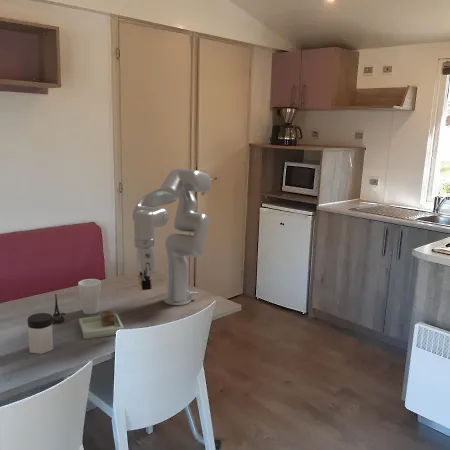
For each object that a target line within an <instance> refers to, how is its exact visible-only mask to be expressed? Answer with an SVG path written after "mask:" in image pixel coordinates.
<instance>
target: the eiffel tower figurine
mask: <svg viewBox="0 0 450 450" xmlns="http://www.w3.org/2000/svg"><path fill="white" fill-rule="evenodd" d="M57 296H58V295H57V293H55V295H54V297H55V303H54V304H55V306H54V309H53V310H54V313H53V314H52V325H62V324H65V318H64V316H66V315H67V312H60V309H59V306H58V297H57Z"/></svg>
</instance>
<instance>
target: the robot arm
mask: <svg viewBox="0 0 450 450" xmlns="http://www.w3.org/2000/svg"><path fill="white" fill-rule="evenodd" d="M211 186H212V179H211V177H210V175H209V174H208V173H205V172H203V171H201V170H197V169H191V168H190V169H189V168H174V169H172V170H170V172H169V173H168V175H167V176H166V178H165V179H164V181H163V182H162V184H161V186H160V187H159V188H157V189H155V190H153V191H151V192H149V193H147V194H145V195H143V196H142V197H141V198H140V199H139V201H138V202H137V204H136V205H135V206H134V209H133V211H132V217H131V218H132V220H133V225H134V226H133V227H134V228H133V234H134V237H133V238H134V241H133V242H134V247H135V248H136V267H137V269H138V276H141V275H143V280H142V290H141V291H145V290H146V291H148V290H152V289H151V280H150V279H151V278H152V277H151V273H155V257H154V249H153V248H154V247H155V228H160V227H164V226H165V225H166V224H167V223H168V222H169V219H170V215H169V212H168V211H167V210H166V209H165V208H163V207H160V206H166V205H170V204H173V203H175V202H176V201H177V199H178V203H177V209H176V212H175V216H174V220H173V228H174V229H175V231H178V232H182V233H171V234H169V235H168V236H166V238H165V243H164V244H165V245H164V246H165V251H166V257H167V258H166V262H167V263H166V265H167V269H166V271H167V275H166V276H167V278H166V280H167V283H166V285H167V286H166V288H167V289H166V291H167V292H166V295H165V296H164V297H163V302H164V303H165V304H167V305H169V306H184V305H188V304H190V303H191V302H192V297H193V296H194V297H196V296H199V292H198V291H194V290H189V262H188V258H187V257H190V258H198V257H201V256H202V255H203V252H204V249H205V245H206V240H207V236H208V231H209V227H210V226H209V225H210V221H209V217H208V216H207V214H205V213H202V212H196V210H197V206H198V201H197V199H196V197H195V195H194V194H193V192H197V193H208V191H209V190H210V189H211ZM185 233H187V234H185ZM188 233H189V234H188ZM190 234H191V235H190ZM193 234H194V235H193ZM150 277H151V278H150Z"/></svg>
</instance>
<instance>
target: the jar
mask: <svg viewBox="0 0 450 450" xmlns="http://www.w3.org/2000/svg"><path fill="white" fill-rule="evenodd" d="M52 317H53V314H51V313H47V312H38V313H34V314H31V315H30V316H28V318H27V326H28V327H27V330H28V333H27V334H28V346H29V349H28V351H29V353H30V354H31V353H32V354H37V355H38V354H39V355H43V354H46V353H48V352H51V351H53V350H54V336H53V335H54V334H53V333H54V332H53V324H52Z"/></svg>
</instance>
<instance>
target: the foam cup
mask: <svg viewBox="0 0 450 450" xmlns="http://www.w3.org/2000/svg"><path fill="white" fill-rule="evenodd" d="M77 283H78V285H77V288H78V289H77V290H78V291H79V297H80V303H81V308H82V313H83V314H85V315H93V314H97V313H98V312H99V308H100V298H101V288H102V280H100V279H98V278H97V279H96V278H87V279H86V278H85V279H81V280H80V281H78V282H77Z"/></svg>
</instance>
